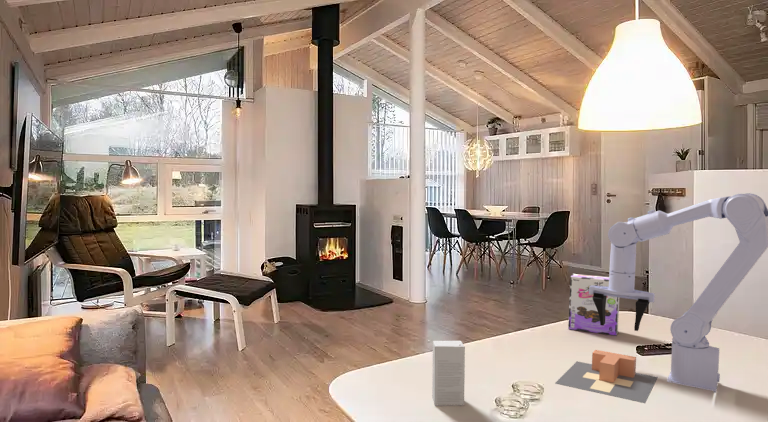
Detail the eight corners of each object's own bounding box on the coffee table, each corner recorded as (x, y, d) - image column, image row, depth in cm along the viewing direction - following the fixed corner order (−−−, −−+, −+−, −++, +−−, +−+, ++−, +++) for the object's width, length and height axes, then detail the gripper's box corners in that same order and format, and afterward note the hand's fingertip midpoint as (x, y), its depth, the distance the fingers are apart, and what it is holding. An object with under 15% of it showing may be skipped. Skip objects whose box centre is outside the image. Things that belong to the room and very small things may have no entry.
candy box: (567, 329, 165) (569, 275, 164) (570, 325, 170) (572, 272, 169) (616, 336, 158) (619, 280, 157) (618, 331, 164) (620, 277, 163)
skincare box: (460, 397, 112) (461, 340, 111) (464, 406, 107) (465, 346, 107) (431, 397, 111) (432, 340, 111) (433, 406, 107) (434, 346, 106)
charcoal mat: (657, 379, 124) (657, 376, 124) (644, 405, 109) (644, 403, 109) (576, 363, 134) (576, 361, 134) (554, 385, 119) (554, 383, 119)
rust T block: (635, 374, 125) (636, 357, 125) (628, 385, 118) (628, 367, 118) (594, 366, 130) (595, 349, 130) (585, 376, 123) (586, 359, 123)
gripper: (657, 272, 130) (654, 328, 131) (594, 266, 138) (591, 318, 139) (653, 277, 124) (650, 335, 125) (588, 269, 132) (585, 324, 133)
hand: (619, 327), depth 132 cm, fingers open, 7 cm apart
